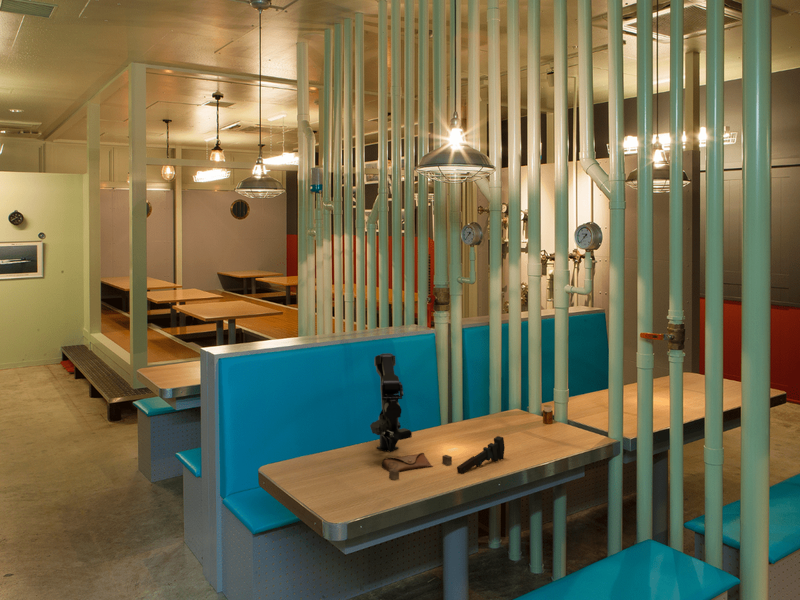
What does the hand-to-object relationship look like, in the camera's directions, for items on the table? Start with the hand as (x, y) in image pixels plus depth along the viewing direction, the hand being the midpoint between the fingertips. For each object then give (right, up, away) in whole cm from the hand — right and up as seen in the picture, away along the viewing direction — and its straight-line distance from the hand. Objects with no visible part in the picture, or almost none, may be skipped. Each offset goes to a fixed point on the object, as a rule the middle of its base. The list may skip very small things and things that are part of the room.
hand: (390, 451), depth 249 cm
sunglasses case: (+6, -4, -9) cm, 12 cm away
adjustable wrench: (+34, -4, -7) cm, 34 cm away
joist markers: (+11, -4, -14) cm, 18 cm away
